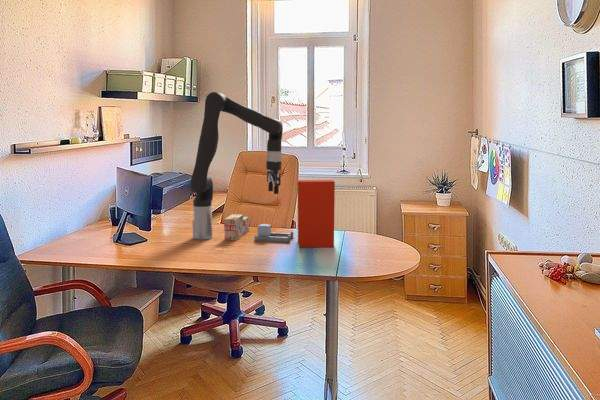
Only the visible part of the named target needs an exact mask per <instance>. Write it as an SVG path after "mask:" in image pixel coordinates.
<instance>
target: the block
mask: <svg viewBox="0 0 600 400" xmlns="http://www.w3.org/2000/svg"><path fill="white" fill-rule="evenodd" d="M271 233H272V224H270V223H269V224H267V223H261V224H259V225H258V226H257V236H271Z"/></svg>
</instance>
